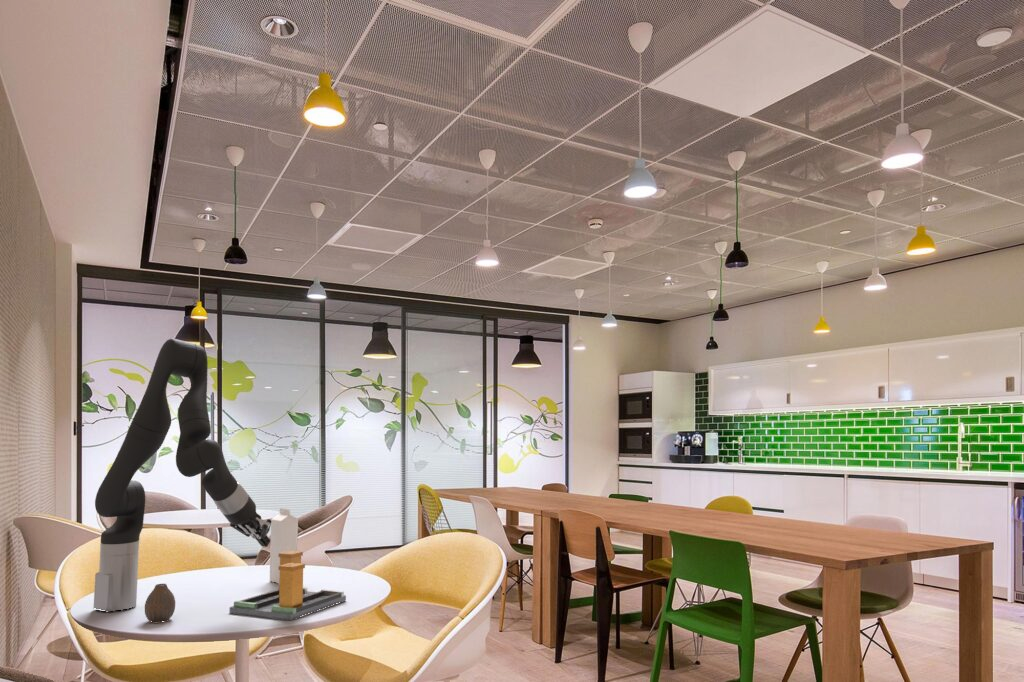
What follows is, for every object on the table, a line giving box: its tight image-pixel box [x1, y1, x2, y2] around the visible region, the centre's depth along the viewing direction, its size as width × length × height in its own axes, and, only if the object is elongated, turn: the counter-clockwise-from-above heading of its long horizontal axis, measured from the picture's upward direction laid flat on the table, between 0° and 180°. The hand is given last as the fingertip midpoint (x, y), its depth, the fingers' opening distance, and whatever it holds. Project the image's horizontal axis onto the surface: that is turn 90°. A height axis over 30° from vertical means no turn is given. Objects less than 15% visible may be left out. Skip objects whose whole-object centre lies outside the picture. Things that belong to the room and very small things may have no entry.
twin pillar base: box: [228, 563, 347, 622], centre depth 196 cm, size 22×20×12 cm
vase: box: [144, 583, 176, 623], centre depth 183 cm, size 7×7×9 cm
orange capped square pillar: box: [278, 550, 304, 594], centre depth 205 cm, size 5×5×11 cm
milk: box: [269, 507, 299, 584], centre depth 230 cm, size 6×6×22 cm
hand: (266, 543), depth 198 cm, fingers closed
